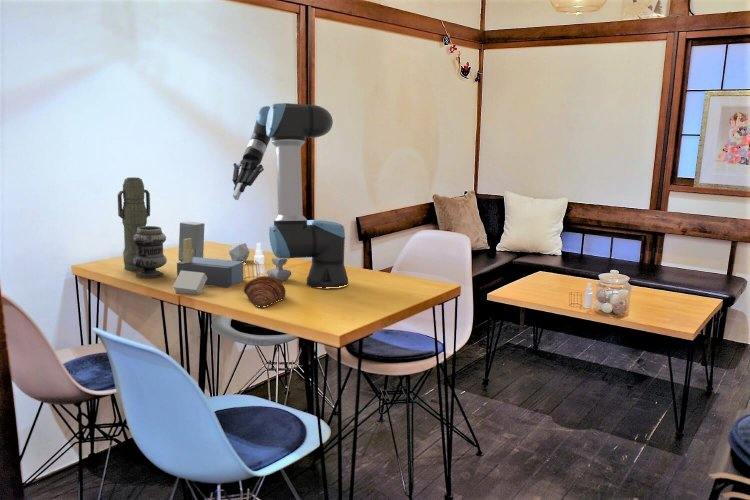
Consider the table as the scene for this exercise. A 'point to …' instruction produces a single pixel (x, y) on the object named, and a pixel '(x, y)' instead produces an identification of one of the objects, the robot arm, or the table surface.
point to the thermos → (132, 216)
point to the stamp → (279, 269)
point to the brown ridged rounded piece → (264, 290)
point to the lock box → (215, 270)
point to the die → (239, 252)
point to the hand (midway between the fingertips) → (235, 197)
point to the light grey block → (190, 282)
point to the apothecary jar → (149, 251)
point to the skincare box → (194, 232)
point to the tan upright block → (187, 250)
